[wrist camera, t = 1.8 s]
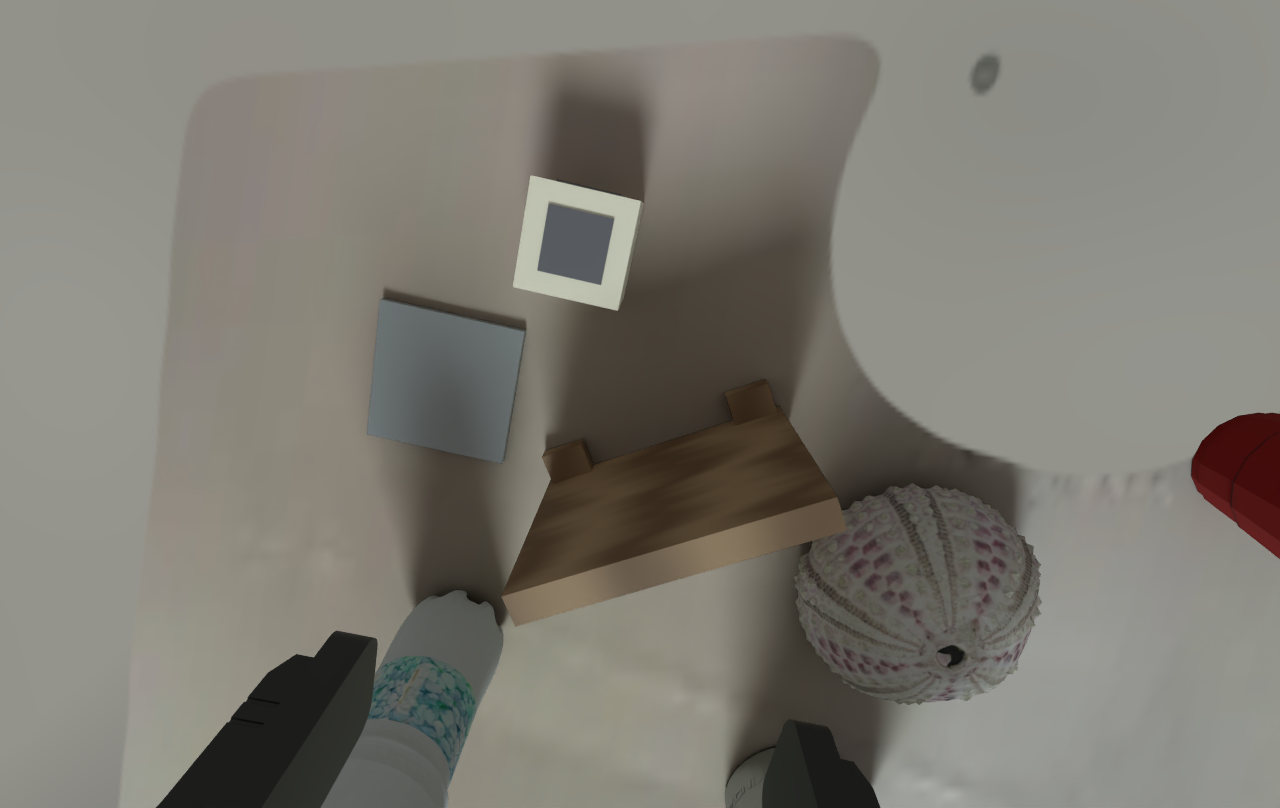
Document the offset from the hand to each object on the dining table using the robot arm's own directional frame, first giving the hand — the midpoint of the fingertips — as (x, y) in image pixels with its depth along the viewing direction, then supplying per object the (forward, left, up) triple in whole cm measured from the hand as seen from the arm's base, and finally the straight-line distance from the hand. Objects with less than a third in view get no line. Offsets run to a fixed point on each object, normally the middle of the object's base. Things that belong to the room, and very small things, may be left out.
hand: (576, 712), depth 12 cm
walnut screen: (-4, +2, -24) cm, 24 cm away
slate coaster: (+9, +5, -24) cm, 26 cm away
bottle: (+1, +19, -24) cm, 31 cm away
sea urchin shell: (-20, +1, -24) cm, 31 cm away
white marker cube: (+6, -6, -24) cm, 25 cm away
